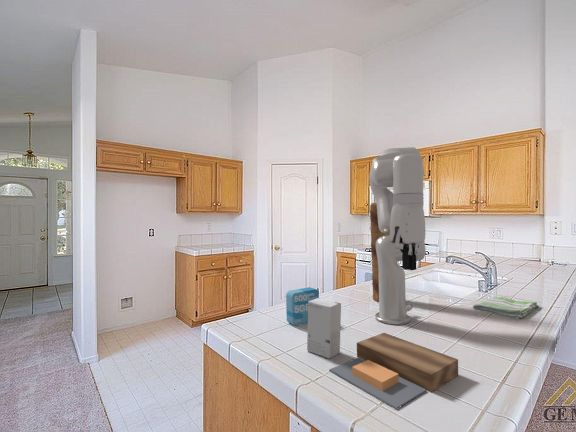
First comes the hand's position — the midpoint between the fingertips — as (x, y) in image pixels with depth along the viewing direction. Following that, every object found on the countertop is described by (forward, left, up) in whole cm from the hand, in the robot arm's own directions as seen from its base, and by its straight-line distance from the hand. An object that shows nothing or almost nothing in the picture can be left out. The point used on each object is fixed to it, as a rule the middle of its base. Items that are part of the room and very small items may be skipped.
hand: (409, 269), depth 84 cm
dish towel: (-72, -4, -26) cm, 77 cm away
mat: (+15, 0, -25) cm, 29 cm away
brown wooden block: (+3, 0, -25) cm, 25 cm away
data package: (+3, -43, -25) cm, 50 cm away
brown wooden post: (-44, -43, -25) cm, 67 cm away
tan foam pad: (+15, 0, -23) cm, 27 cm away
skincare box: (+14, -19, -25) cm, 35 cm away
